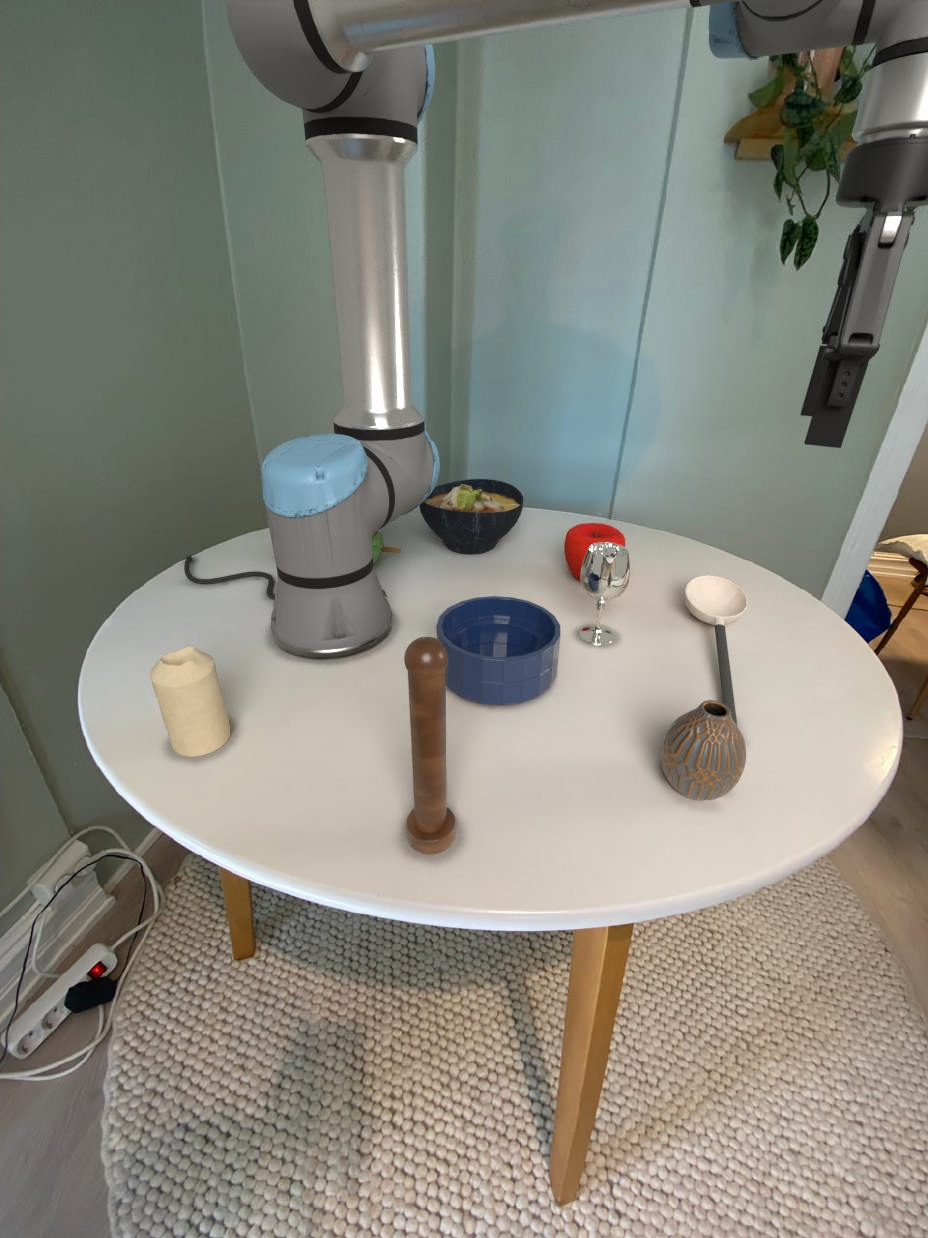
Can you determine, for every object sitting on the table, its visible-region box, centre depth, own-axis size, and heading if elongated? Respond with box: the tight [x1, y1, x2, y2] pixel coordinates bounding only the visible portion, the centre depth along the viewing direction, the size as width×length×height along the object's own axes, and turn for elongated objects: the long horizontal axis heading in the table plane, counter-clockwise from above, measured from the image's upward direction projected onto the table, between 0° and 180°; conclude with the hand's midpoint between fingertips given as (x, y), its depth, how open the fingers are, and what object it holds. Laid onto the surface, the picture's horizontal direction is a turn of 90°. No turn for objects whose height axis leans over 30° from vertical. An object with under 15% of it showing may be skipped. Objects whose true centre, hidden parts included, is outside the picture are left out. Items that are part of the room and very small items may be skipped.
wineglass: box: [578, 542, 631, 646], centre depth 74 cm, size 6×6×12 cm
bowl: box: [418, 478, 524, 555], centre depth 99 cm, size 17×17×10 cm
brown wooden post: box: [403, 636, 456, 855], centre depth 45 cm, size 4×4×19 cm
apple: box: [563, 522, 626, 582], centre depth 89 cm, size 9×9×8 cm
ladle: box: [684, 574, 749, 728], centre depth 72 cm, size 8×31×4 cm, turn 165°
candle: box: [149, 646, 231, 758], centre depth 57 cm, size 6×6×10 cm
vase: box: [660, 699, 747, 801], centre depth 53 cm, size 7×7×9 cm
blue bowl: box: [435, 595, 562, 706], centre depth 68 cm, size 14×14×6 cm
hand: (818, 429), depth 56 cm, fingers open, 13 cm apart
